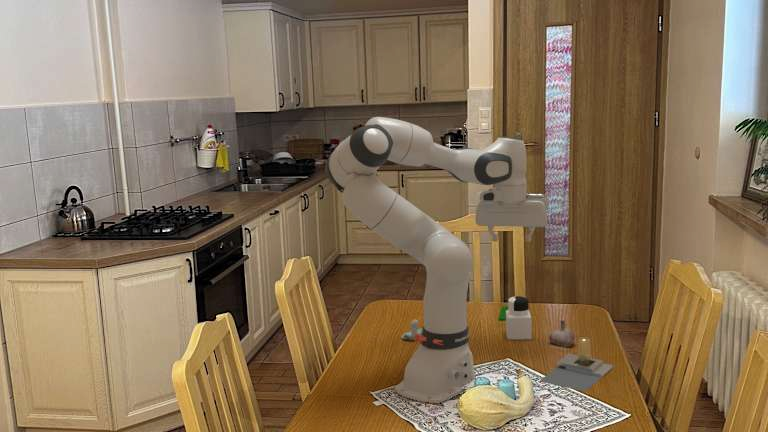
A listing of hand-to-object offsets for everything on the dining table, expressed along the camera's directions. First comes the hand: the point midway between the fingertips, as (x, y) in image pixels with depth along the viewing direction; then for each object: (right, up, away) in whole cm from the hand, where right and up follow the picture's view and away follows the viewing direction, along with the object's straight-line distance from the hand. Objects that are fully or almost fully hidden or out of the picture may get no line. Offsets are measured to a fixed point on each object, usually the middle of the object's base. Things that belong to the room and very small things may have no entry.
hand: (511, 241), depth 204 cm
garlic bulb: (+15, -31, +4) cm, 35 cm away
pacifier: (-28, -30, +15) cm, 44 cm away
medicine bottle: (+4, -30, +13) cm, 32 cm away
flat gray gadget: (+16, -33, -18) cm, 40 cm away
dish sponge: (+5, -27, +30) cm, 41 cm away
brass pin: (+16, -33, -18) cm, 40 cm away
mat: (+13, -35, -21) cm, 42 cm away
